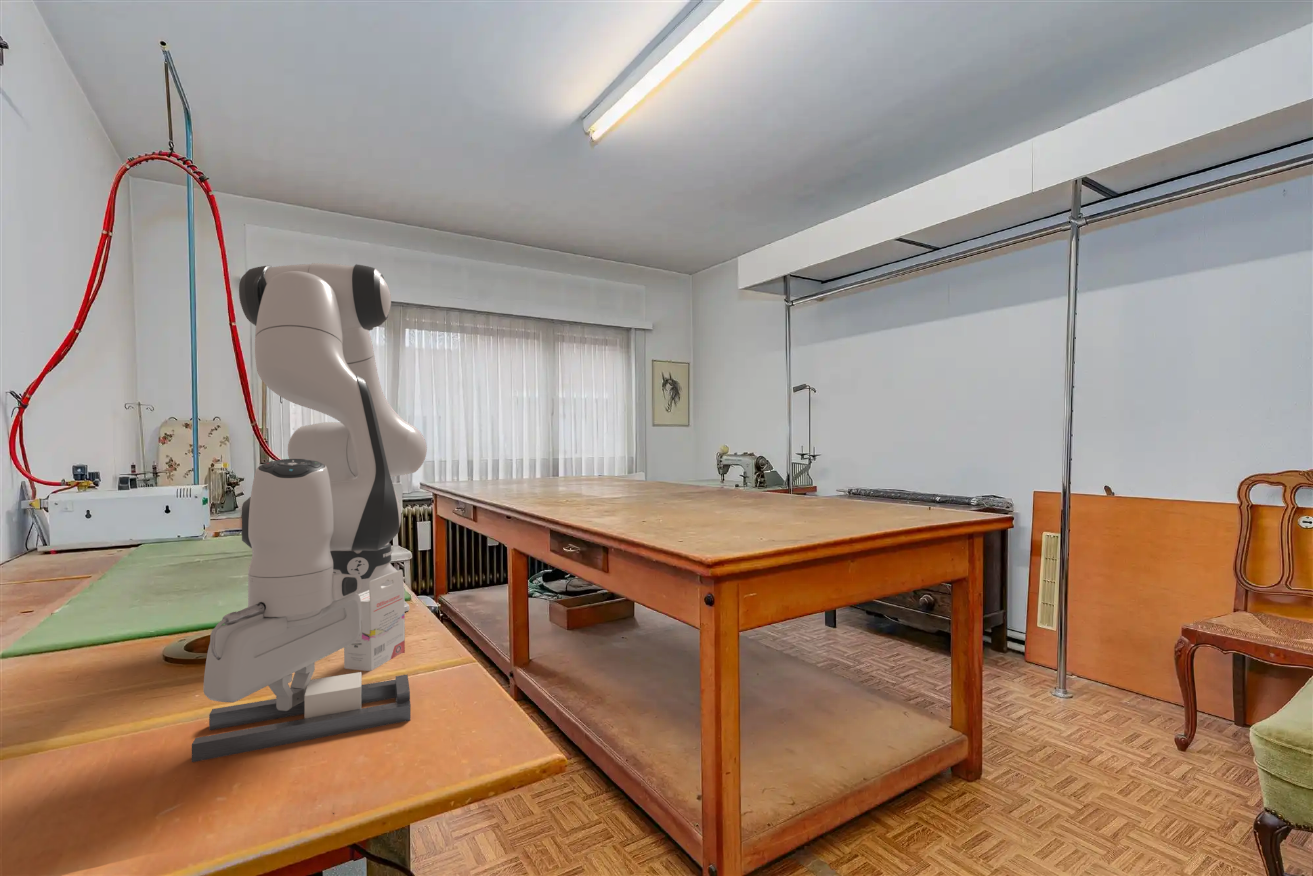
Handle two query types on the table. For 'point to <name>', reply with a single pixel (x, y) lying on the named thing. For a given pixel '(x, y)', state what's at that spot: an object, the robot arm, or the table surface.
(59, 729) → the table surface
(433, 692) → the table surface
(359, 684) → the block
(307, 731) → the chute
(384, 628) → the ink cartridge box
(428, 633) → the table surface
